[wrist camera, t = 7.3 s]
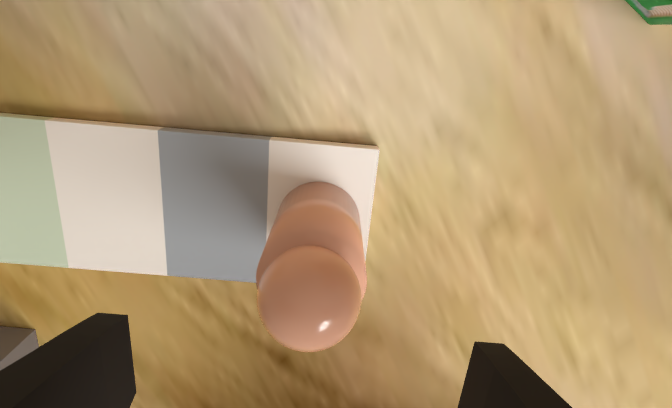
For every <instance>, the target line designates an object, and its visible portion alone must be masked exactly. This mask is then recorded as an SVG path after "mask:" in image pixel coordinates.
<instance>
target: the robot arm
mask: <svg viewBox="0 0 672 408" xmlns="http://www.w3.org/2000/svg"><path fill="white" fill-rule="evenodd" d="M135 394H136V385H135V376H134V367H133V359H132V350H131V341H130V332H129V323H128V315H119V314H106V313H97V314H95V315H93V316H91V317H89V318H87V319H86V320H84V321H82V322H80V323H79V324H77V325H75V326H73V327H72V328H70V329H68V330H67V331H65V332H63V333H62V334H60V335H58V336H57V337H55V338H54V339H52V340H50V341H49V342H47V343H45V344H44V345H42V346H40V347H39V348H37V349H35V350H34V351H32V352H30V353H29V354H27V355H25V356H24V357H22V358H20V359H19V360H17V361H15V362H14V363H12V364H10V365H9V366H7V367H5V368H4V369H2V370H0V408H130V406H131V403H132V401H133V399H134V396H135ZM458 408H572V407H571V406H570V405H569V404H568V403H567V402H566V401H564V400H563V399H562V398H561V397H560V396H559V395H558V394H557V393H556V392H555V391H554V390H553V389H552V388H551V387H550V386H549V385H548V384H546V383H545V382H544V381H543V380H542V379H541V378H540V377H539V376H538V375H537V374H536V373H535V372H534V371H533V370H532V369H531V368H530V367H528V366H527V365H526V364H525V363H524V362H523V361H522V360H521V359H520V358H519V357H518V356H517V355H516V354H515V353H513V352H512V351H511V350H510V349H509V348H508V347H507V346H505V345H504V344H499V343H486V342H475V343H474V346H473V350H472V354H471V358H470V362H469V366H468V370H467V374H466V378H465V381H464V385H463V389H462V393H461V397H460V401H459V405H458Z"/></svg>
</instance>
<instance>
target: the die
mask: <svg viewBox="0 0 672 408" xmlns="http://www.w3.org/2000/svg"><path fill="white" fill-rule="evenodd" d="M37 348H39V346H38V340H37V335H36V330H35V329H26V328H14V327H2V326H0V370H2V369H4V368H5V367H7V366H9V365H10V364H12V363H14V362H15V361H17V360H19V359H20V358H22V357H24V356H25V355H27V354H29V353H30V352H32V351H34V350H35V349H37Z"/></svg>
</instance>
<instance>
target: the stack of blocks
mask: <svg viewBox="0 0 672 408" xmlns="http://www.w3.org/2000/svg"><path fill="white" fill-rule="evenodd" d="M625 1H626V2H627V3H628V4H629V5H630V6H631V7H632V8H633V9H634V10H635V11H636V12H638V13H639V14H640V15H641V17H642V18H643V19H644V20H645V21H646V22H647V23H648V24H650V25H658V24H672V0H625Z"/></svg>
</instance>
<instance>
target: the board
mask: <svg viewBox="0 0 672 408" xmlns="http://www.w3.org/2000/svg"><path fill="white" fill-rule="evenodd" d="M378 158H379V147H378V146H372V145H361V144H349V143H338V142H327V141H315V140H304V139H293V138H281V137H270V136H259V135H247V134H236V133H225V132H213V131H202V130H191V129H179V128H168V127H156V126H145V125H134V124H122V123H111V122H100V121H88V120H77V119H66V118H54V117H43V116H32V115H20V114H9V113H0V262H2V263H15V264H27V265H40V266H52V267H65V268H78V269H90V270H103V271H115V272H128V273H140V274H153V275H166V276H178V277H191V278H203V279H216V280H228V281H241V282H253V283H256V271H257V267H258V263H259V261H260V258H261V255H262V253H263V250H264V247H265V245H266V242H267V239H268V236H269V234H270V231H271V228H272V226H273V223H274V220H275V217H276V215H277V212H278V209H279V207H280V204H281V202H282V201H283V199H284V198H285V196H286V195H287V194H288V193H289V192H290V191H291V190H293V189H294V188H296V187H298V186H300V185H302V184H305V183H309V182H327V183H331V184H334V185H336V186H338V187H340V188H342V189H343V190H345V191H346V192H347V193H348V194H349V195H350V196H351V197H352V199H353V200H354V202H355V203H356V205H357V208H358V211H359V215H360V224H361V232H362V240H363V249H364V257H365V260H366V252H367V244H368V236H369V228H370V220H371V213H372V205H373V197H374V189H375V181H376V174H377V166H378Z"/></svg>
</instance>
